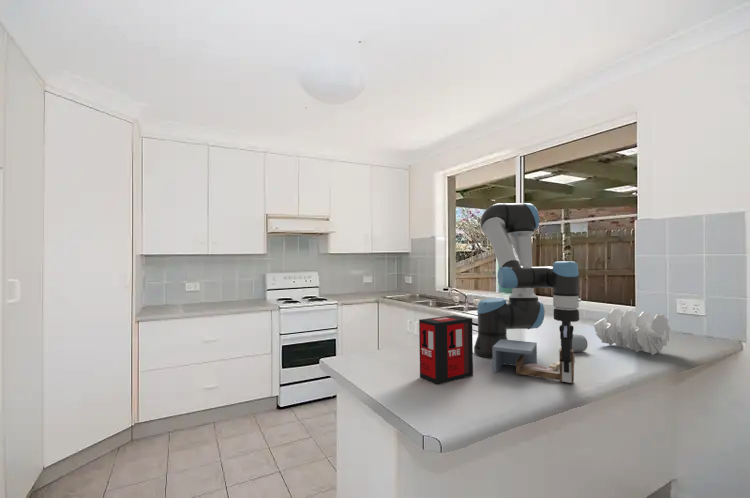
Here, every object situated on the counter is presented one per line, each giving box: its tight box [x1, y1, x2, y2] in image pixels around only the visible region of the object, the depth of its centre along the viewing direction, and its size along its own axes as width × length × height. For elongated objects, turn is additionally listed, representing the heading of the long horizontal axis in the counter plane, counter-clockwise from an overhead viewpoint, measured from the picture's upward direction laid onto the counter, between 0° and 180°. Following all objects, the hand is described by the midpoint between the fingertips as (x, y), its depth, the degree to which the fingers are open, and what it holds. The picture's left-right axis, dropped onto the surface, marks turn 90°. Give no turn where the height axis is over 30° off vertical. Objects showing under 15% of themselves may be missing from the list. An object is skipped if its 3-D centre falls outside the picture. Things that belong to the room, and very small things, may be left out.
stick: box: [548, 356, 576, 372], centre depth 143 cm, size 18×2×2 cm, turn 132°
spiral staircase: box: [593, 307, 671, 356], centre depth 165 cm, size 18×18×25 cm
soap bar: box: [523, 363, 553, 371], centre depth 134 cm, size 5×9×2 cm, turn 30°
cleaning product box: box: [418, 314, 474, 386], centre depth 132 cm, size 16×9×20 cm, turn 122°
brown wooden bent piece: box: [515, 347, 575, 384], centre depth 131 cm, size 18×11×10 cm, turn 60°
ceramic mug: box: [572, 333, 588, 353], centre depth 165 cm, size 11×8×8 cm
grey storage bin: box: [492, 339, 538, 374], centre depth 138 cm, size 13×14×9 cm
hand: (567, 379), depth 124 cm, fingers closed on brown wooden bent piece, 4 cm apart
